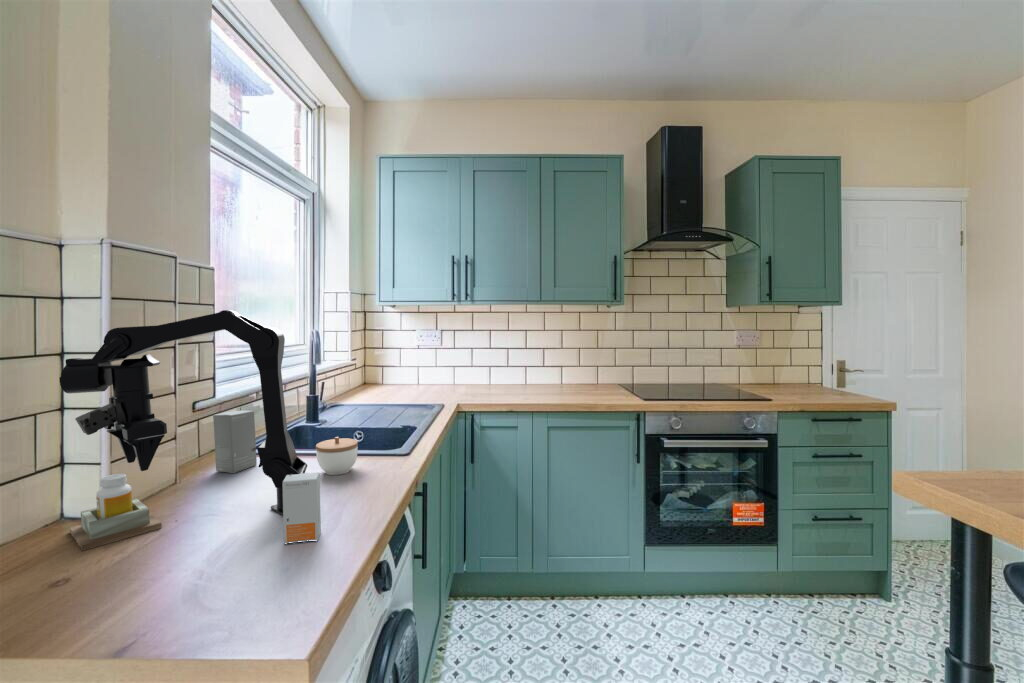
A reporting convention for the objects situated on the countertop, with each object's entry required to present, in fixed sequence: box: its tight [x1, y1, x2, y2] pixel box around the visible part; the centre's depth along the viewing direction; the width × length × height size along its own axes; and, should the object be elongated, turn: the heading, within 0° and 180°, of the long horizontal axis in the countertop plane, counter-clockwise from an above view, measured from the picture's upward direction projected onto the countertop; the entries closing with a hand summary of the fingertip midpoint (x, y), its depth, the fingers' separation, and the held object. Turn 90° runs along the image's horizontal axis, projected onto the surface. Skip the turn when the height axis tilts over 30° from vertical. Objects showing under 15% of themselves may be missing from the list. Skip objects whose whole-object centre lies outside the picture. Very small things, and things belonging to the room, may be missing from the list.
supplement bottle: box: [95, 473, 133, 520], centre depth 95 cm, size 5×5×10 cm
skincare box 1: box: [212, 410, 258, 474], centre depth 134 cm, size 8×7×16 cm
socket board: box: [69, 498, 163, 551], centre depth 95 cm, size 12×12×4 cm
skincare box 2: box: [282, 472, 322, 544], centre depth 91 cm, size 6×4×12 cm
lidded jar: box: [315, 436, 359, 476], centre depth 130 cm, size 11×11×9 cm
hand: (137, 466), depth 97 cm, fingers open, 9 cm apart
